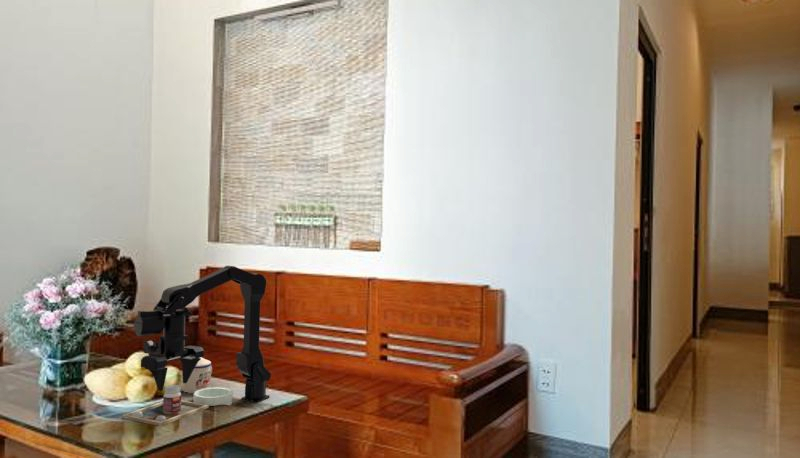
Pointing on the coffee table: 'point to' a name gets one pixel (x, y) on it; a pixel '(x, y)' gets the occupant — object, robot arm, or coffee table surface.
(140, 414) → the pebble
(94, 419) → the coffee table surface
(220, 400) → the bowl
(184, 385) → the teacup with lid
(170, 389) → the pill bottle
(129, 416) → the tray
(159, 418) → the pebble
